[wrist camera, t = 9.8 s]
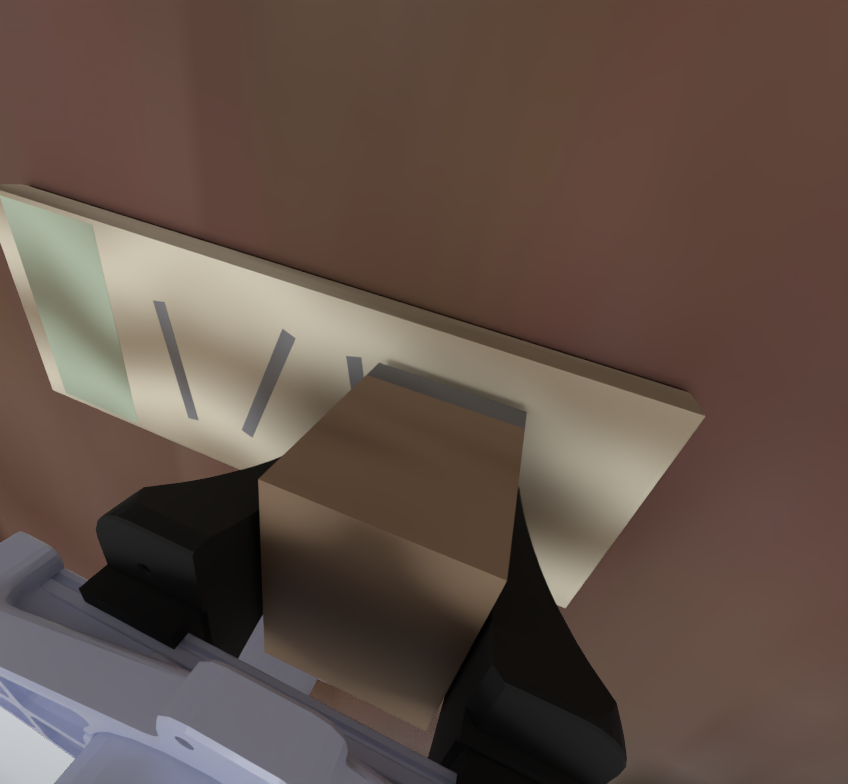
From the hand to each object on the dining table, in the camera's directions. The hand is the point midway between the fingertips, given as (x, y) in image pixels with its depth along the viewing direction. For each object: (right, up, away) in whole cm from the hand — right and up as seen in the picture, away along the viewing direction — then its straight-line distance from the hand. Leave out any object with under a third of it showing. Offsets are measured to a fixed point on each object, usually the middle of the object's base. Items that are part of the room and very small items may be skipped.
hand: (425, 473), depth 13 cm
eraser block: (0, 0, 0) cm, 0 cm away
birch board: (-6, +3, +3) cm, 7 cm away
